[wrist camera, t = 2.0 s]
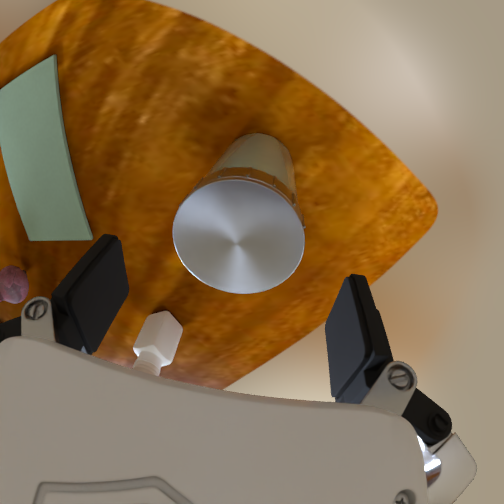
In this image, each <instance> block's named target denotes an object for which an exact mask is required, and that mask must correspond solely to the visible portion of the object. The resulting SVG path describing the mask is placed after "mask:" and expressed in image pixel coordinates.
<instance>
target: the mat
mask: <svg viewBox="0 0 504 504" xmlns="http://www.w3.org/2000/svg"><path fill="white" fill-rule="evenodd" d="M0 145H1V150H2V155H3V159H4V163H5V167H6V171H7V175H8V179H9V182H10V186H11V189H12V192H13V196H14V199H15V202H16V205H17V208H18V211H19V214H20V216H21V219H22V222H23V224H24V227H25V230H26V232H27V235H28V237H29V240H30V241H52V240H92V239H93V236H92V233H91V230H90V227H89V224H88V221H87V218H86V214H85V211H84V208H83V205H82V201H81V198H80V194H79V191H78V187H77V183H76V179H75V175H74V171H73V167H72V163H71V159H70V154H69V149H68V144H67V139H66V134H65V128H64V122H63V116H62V109H61V102H60V94H59V84H58V72H57V55H52V56H51V57H49V58H47V59H45V60H44V61H42V62H40V63H39V64H37V65H35V66H34V67H32V68H30V69H29V70H27V71H26V72H24V73H23V74H21V75H20V76H18V77H17V78H15V79H14V80H13V81H11V82H10V83H8V84H7V85H6V86H4V87H3V88H2V89H0Z"/></svg>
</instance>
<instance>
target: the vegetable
mask: <svg viewBox="0 0 504 504" xmlns="http://www.w3.org/2000/svg"><path fill="white" fill-rule="evenodd" d="M28 289H29V284H28V279H27V275H26V272H25V271H24V270H21V269H20V268H19V267H16V266H7V267H5V268H3V269H2V270H1V272H0V302H1V301H3V300H6V301H8V302H10V303H20V302H21V301H23V300H24V299H25V297H26V296H27V293H28Z"/></svg>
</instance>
